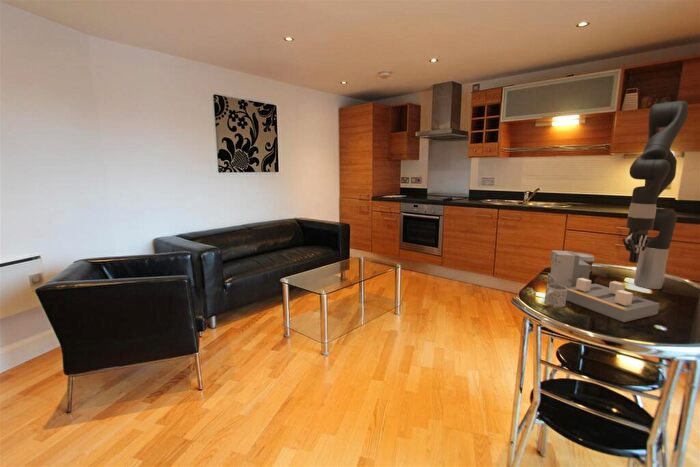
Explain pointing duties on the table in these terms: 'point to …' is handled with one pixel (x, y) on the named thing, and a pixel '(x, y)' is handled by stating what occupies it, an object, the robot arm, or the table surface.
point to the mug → (555, 295)
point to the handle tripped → (616, 287)
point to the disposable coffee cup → (586, 258)
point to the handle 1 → (583, 284)
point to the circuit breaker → (567, 268)
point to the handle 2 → (623, 297)
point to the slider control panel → (612, 303)
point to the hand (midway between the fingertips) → (633, 262)
